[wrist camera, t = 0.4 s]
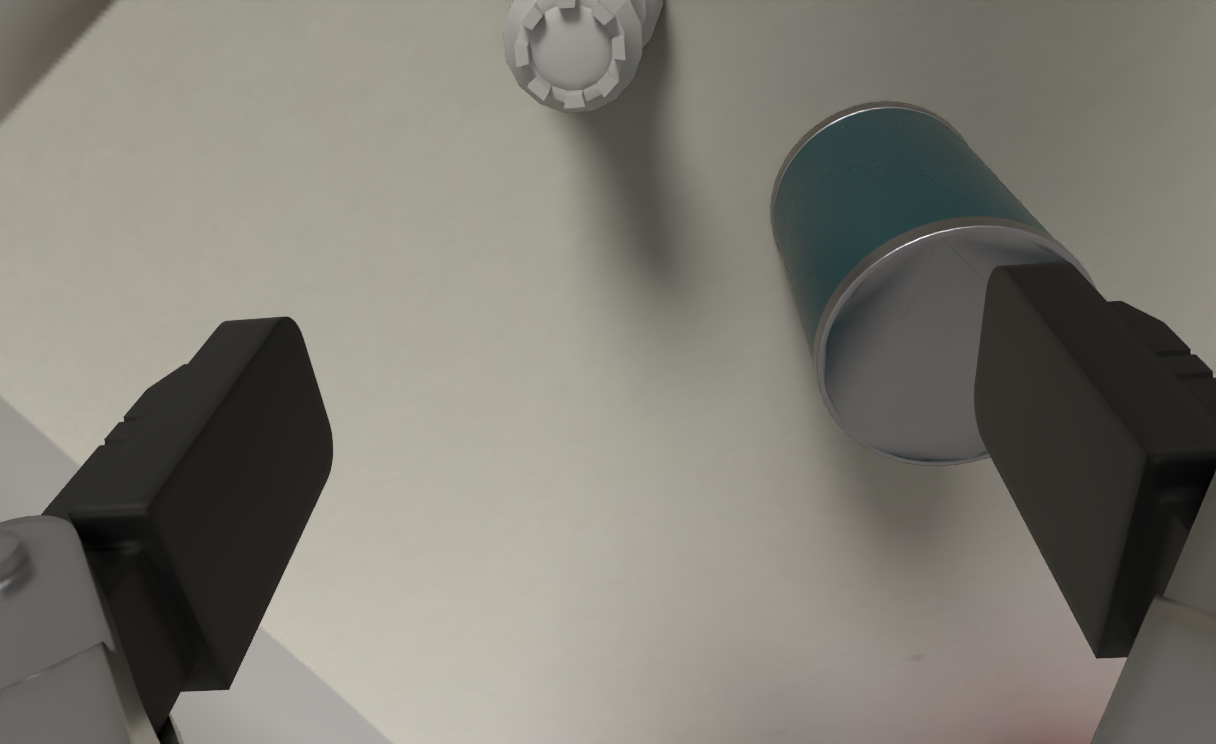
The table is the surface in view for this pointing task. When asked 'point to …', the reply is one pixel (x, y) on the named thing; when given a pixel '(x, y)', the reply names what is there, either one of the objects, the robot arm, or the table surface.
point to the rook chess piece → (577, 48)
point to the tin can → (898, 273)
